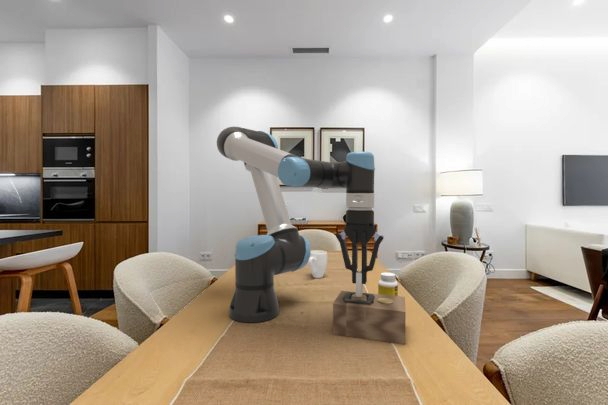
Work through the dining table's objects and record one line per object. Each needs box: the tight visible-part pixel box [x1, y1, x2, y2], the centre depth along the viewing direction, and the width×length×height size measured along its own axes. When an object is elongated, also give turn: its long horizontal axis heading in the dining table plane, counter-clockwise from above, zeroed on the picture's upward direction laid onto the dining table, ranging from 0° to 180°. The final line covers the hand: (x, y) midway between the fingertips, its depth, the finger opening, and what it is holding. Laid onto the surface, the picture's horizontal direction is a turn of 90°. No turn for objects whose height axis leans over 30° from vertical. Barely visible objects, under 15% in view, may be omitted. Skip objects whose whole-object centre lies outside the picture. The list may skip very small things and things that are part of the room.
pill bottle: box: [377, 272, 399, 296], centre depth 101 cm, size 6×6×11 cm
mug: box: [307, 249, 328, 279], centre depth 138 cm, size 12×8×11 cm
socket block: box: [332, 290, 407, 345], centre depth 84 cm, size 18×12×9 cm, turn 73°
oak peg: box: [352, 294, 367, 301], centre depth 85 cm, size 4×4×8 cm
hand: (359, 295), depth 85 cm, fingers closed
